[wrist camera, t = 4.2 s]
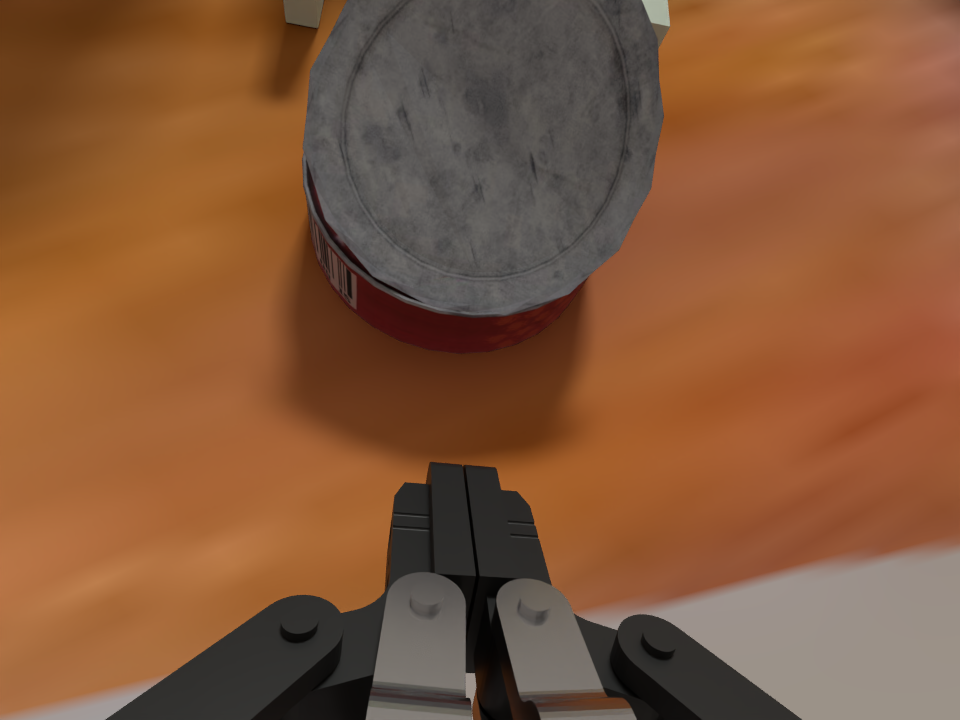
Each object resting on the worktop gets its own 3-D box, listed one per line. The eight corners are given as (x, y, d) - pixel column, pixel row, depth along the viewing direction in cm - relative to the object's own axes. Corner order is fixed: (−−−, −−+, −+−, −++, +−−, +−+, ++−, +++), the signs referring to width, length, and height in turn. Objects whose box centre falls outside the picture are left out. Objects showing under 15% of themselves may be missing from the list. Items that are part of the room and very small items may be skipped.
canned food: (554, 279, 27) (765, 230, 19) (375, 410, 22) (550, 423, 14) (428, 26, 24) (611, -169, 16) (191, 114, 19) (270, -98, 11)
